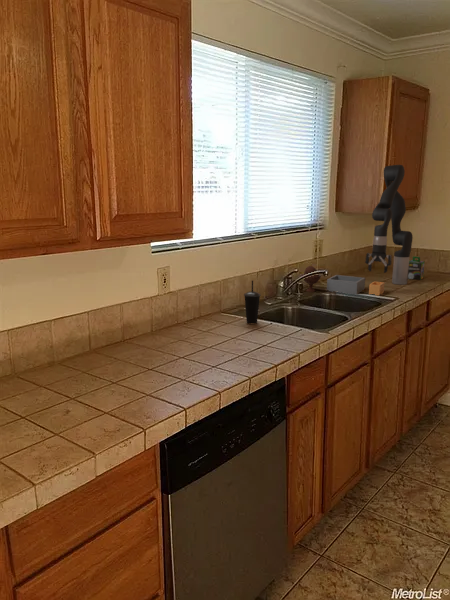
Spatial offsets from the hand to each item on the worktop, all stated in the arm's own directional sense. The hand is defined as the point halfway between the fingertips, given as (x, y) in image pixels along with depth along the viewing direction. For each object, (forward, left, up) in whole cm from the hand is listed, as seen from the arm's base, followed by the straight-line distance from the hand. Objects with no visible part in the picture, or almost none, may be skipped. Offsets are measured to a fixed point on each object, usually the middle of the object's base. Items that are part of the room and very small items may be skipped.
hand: (377, 271), depth 296 cm
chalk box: (-58, +10, -13) cm, 60 cm away
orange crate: (0, 0, -13) cm, 13 cm away
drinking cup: (+92, -33, -13) cm, 98 cm away
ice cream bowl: (+14, -35, -13) cm, 40 cm away
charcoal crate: (+1, -18, -13) cm, 22 cm away
